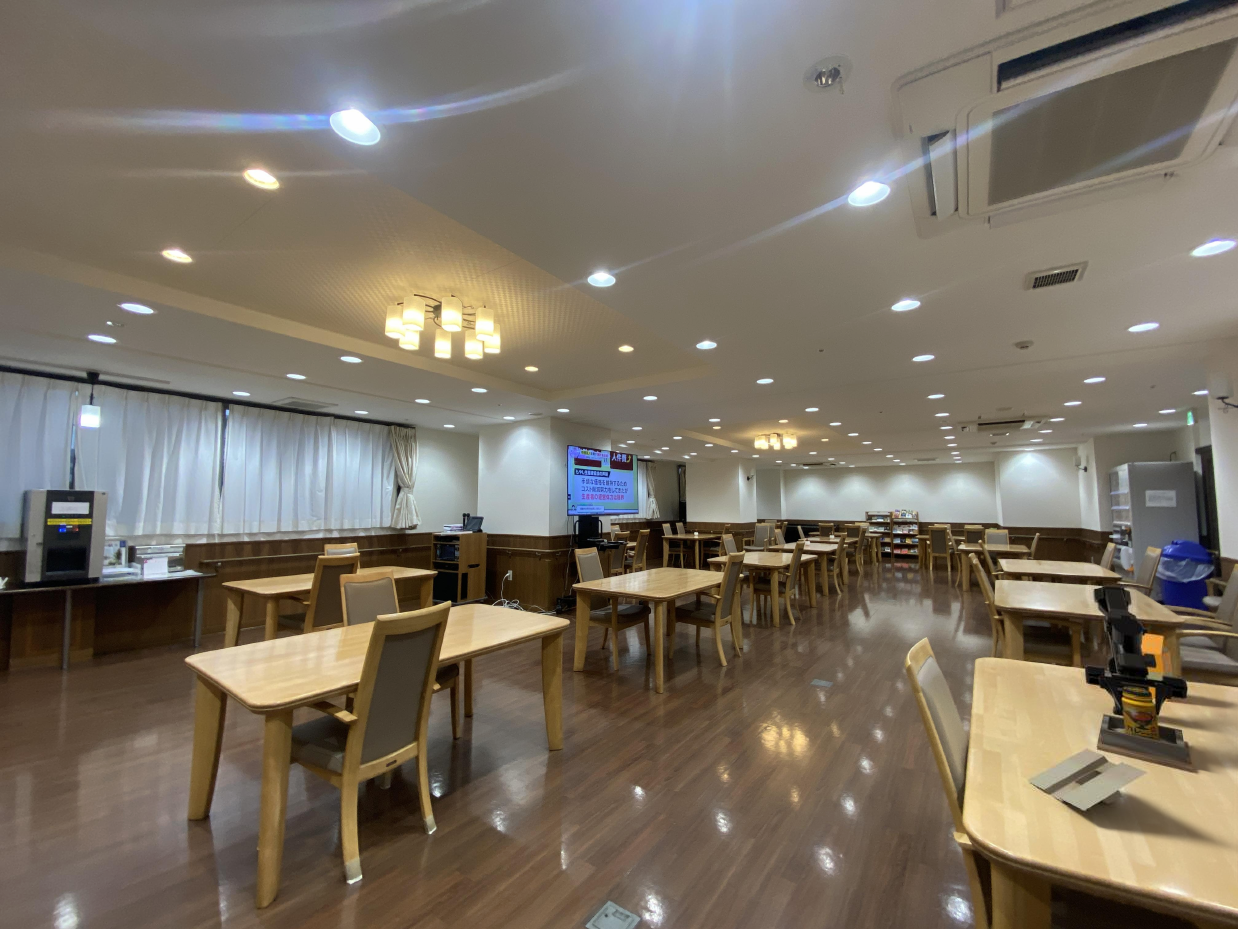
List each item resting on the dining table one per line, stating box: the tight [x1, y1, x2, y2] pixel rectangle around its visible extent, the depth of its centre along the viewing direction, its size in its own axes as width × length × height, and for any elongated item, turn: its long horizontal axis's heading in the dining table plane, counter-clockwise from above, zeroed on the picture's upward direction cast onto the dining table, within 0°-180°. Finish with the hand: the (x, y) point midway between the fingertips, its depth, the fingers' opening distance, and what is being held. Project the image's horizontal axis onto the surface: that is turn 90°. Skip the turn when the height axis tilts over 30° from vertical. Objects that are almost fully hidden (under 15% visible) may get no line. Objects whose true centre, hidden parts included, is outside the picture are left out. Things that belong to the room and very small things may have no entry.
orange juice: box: [1141, 632, 1175, 702], centre depth 164 cm, size 8×9×20 cm
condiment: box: [1111, 687, 1169, 743], centre depth 127 cm, size 7×8×12 cm
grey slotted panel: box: [1027, 748, 1148, 811], centre depth 102 cm, size 16×9×15 cm
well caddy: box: [1096, 713, 1194, 773], centre depth 126 cm, size 20×16×4 cm
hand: (1139, 711), depth 126 cm, fingers closed on condiment, 6 cm apart
